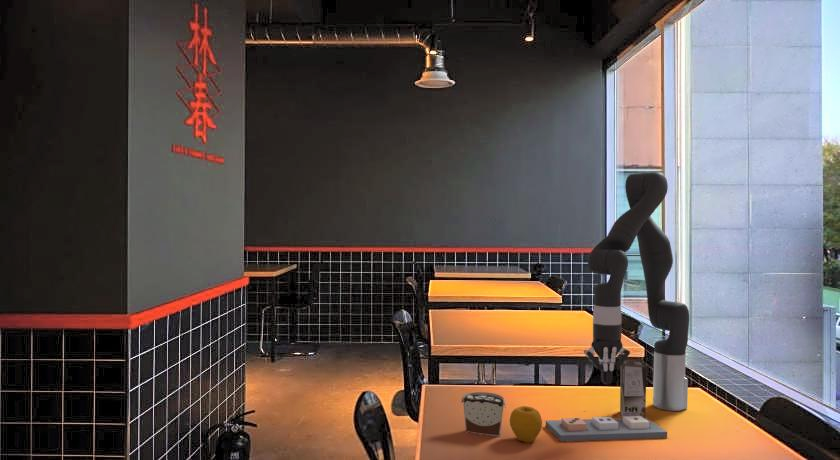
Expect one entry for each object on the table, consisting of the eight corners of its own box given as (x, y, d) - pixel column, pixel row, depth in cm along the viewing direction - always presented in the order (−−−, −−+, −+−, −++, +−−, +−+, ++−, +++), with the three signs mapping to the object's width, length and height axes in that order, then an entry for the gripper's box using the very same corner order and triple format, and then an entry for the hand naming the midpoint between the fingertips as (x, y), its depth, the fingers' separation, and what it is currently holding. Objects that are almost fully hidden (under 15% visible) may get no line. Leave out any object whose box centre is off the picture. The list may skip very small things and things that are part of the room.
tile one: (640, 424, 176) (640, 415, 176) (649, 431, 171) (649, 421, 171) (622, 425, 175) (622, 415, 175) (631, 431, 170) (631, 421, 170)
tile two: (609, 425, 175) (610, 416, 175) (618, 432, 170) (618, 422, 170) (592, 426, 174) (592, 416, 174) (599, 432, 169) (600, 422, 169)
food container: (509, 430, 173) (510, 394, 172) (505, 437, 167) (505, 400, 167) (466, 424, 177) (466, 389, 176) (460, 431, 171) (461, 395, 171)
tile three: (579, 426, 174) (579, 416, 174) (586, 433, 169) (586, 423, 169) (561, 427, 173) (561, 417, 173) (568, 433, 168) (568, 423, 168)
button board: (645, 423, 180) (645, 417, 180) (667, 437, 168) (667, 431, 168) (545, 426, 176) (545, 420, 176) (560, 441, 164) (560, 435, 164)
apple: (507, 434, 169) (508, 401, 169) (538, 434, 169) (539, 402, 169) (511, 445, 161) (511, 411, 161) (544, 446, 160) (544, 412, 160)
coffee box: (646, 422, 181) (647, 367, 180) (623, 420, 182) (624, 365, 182) (641, 412, 190) (642, 360, 189) (619, 411, 191) (620, 358, 190)
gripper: (623, 318, 176) (623, 379, 176) (579, 319, 174) (578, 381, 175) (636, 323, 168) (635, 386, 169) (589, 324, 167) (589, 388, 167)
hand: (606, 383), depth 172 cm, fingers closed
